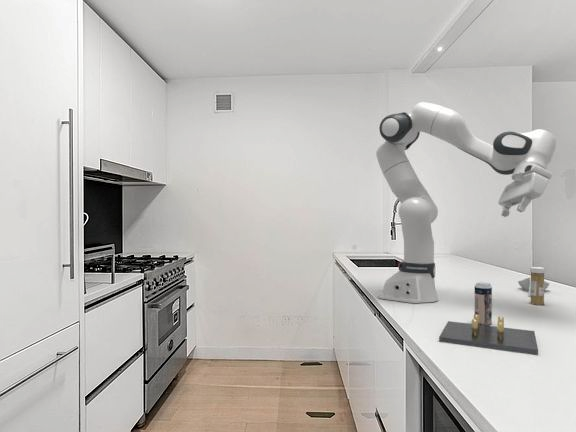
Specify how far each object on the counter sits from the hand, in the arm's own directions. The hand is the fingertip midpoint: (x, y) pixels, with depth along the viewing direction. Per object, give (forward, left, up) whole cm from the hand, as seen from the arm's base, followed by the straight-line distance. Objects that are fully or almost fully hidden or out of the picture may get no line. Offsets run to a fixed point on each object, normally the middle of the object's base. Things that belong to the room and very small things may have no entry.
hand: (512, 213), depth 137 cm
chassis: (-6, -31, -33) cm, 45 cm away
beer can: (-8, -15, -33) cm, 37 cm away
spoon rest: (+9, +51, -34) cm, 62 cm away
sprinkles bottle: (+8, +25, -33) cm, 43 cm away
